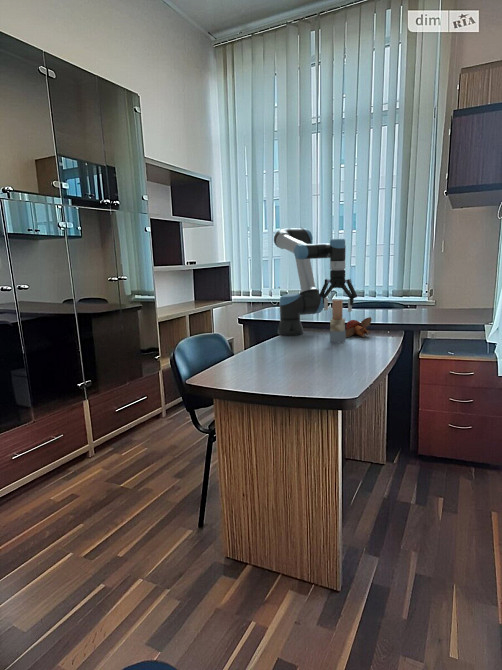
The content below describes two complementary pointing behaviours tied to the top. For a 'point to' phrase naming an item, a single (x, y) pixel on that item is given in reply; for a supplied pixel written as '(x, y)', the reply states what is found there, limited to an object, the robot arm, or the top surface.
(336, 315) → the tan rounded cylinder
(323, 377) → the top surface
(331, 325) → the beige cube
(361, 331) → the figurine
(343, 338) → the cube bottom
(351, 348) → the top surface
